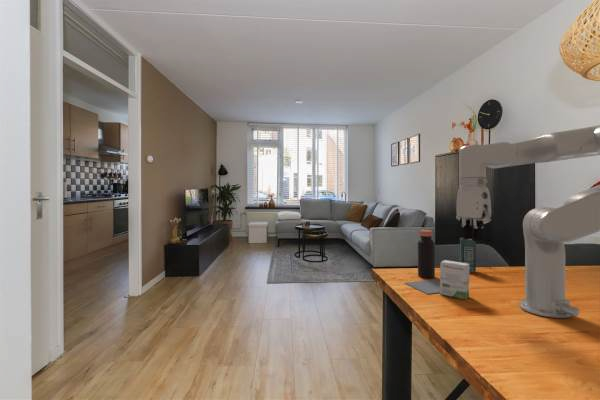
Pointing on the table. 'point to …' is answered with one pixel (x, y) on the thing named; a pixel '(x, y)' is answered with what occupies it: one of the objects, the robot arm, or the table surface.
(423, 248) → the bottle
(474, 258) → the can
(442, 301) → the table surface
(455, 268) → the ink box
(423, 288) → the mat
